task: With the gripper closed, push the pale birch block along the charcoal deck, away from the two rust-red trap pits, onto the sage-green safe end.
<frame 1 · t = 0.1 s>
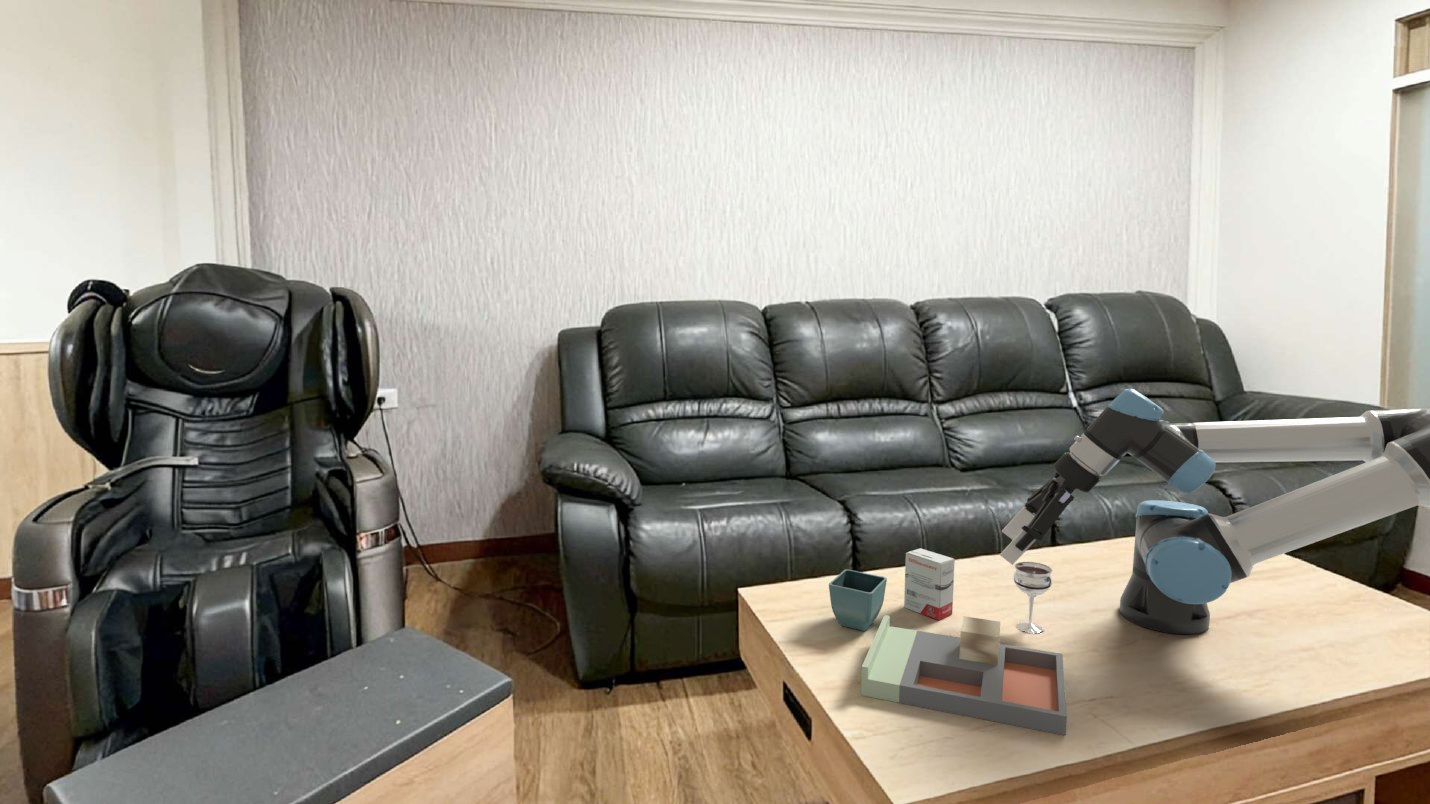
hand: (1006, 547, 144), 15 cm above the table, tool tilted 35°, fingers open, 13 cm apart
wineglass: (1029, 628, 144), on the table
birch block: (979, 653, 129), point 3 cm above the table, touching trap deck
trap deck: (963, 682, 125), on the table
flower pot: (857, 625, 147), on the table
ink box: (928, 611, 153), on the table
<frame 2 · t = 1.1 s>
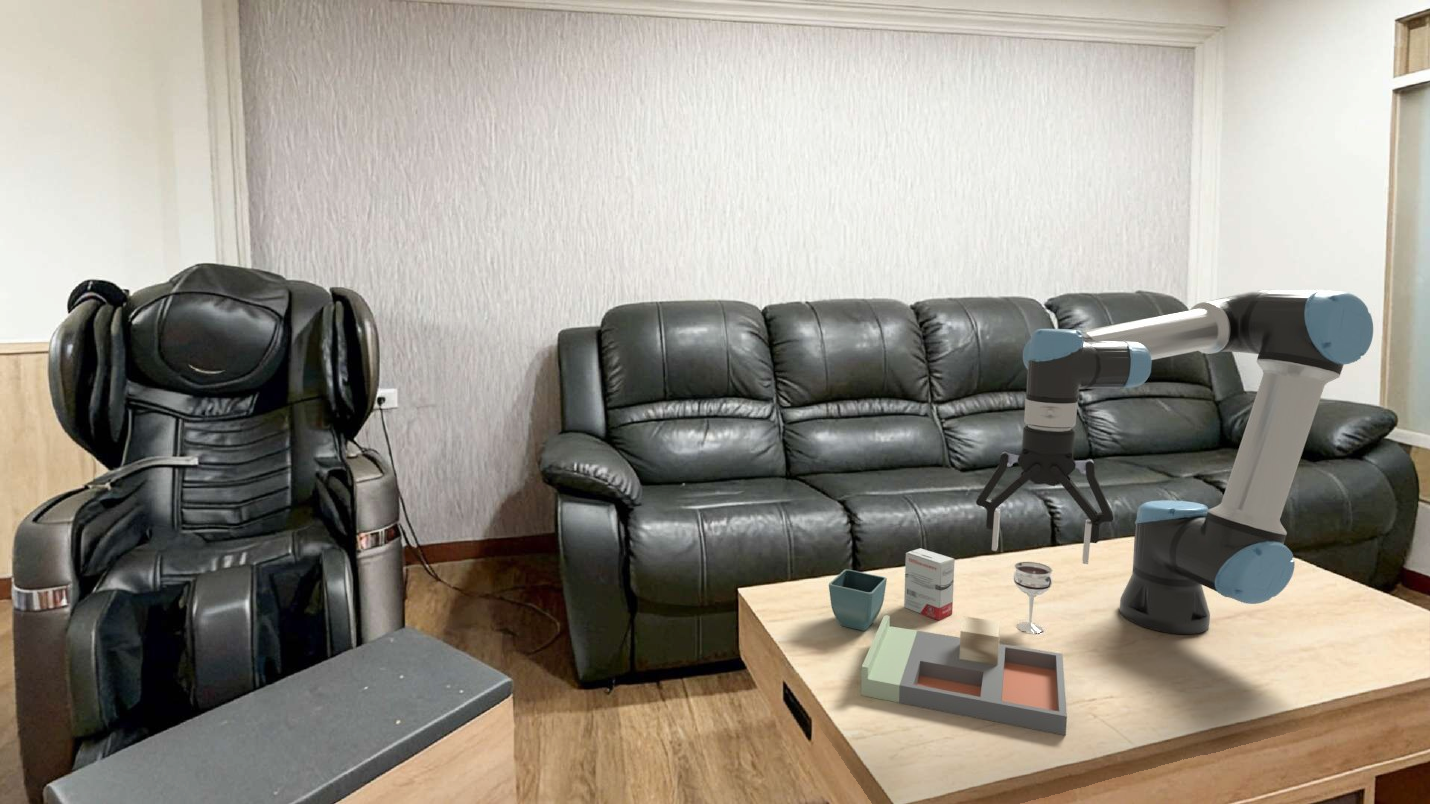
hand: (1038, 554, 123), 21 cm above the table, tool pointing down, fingers open, 13 cm apart
nothing on the table moved.
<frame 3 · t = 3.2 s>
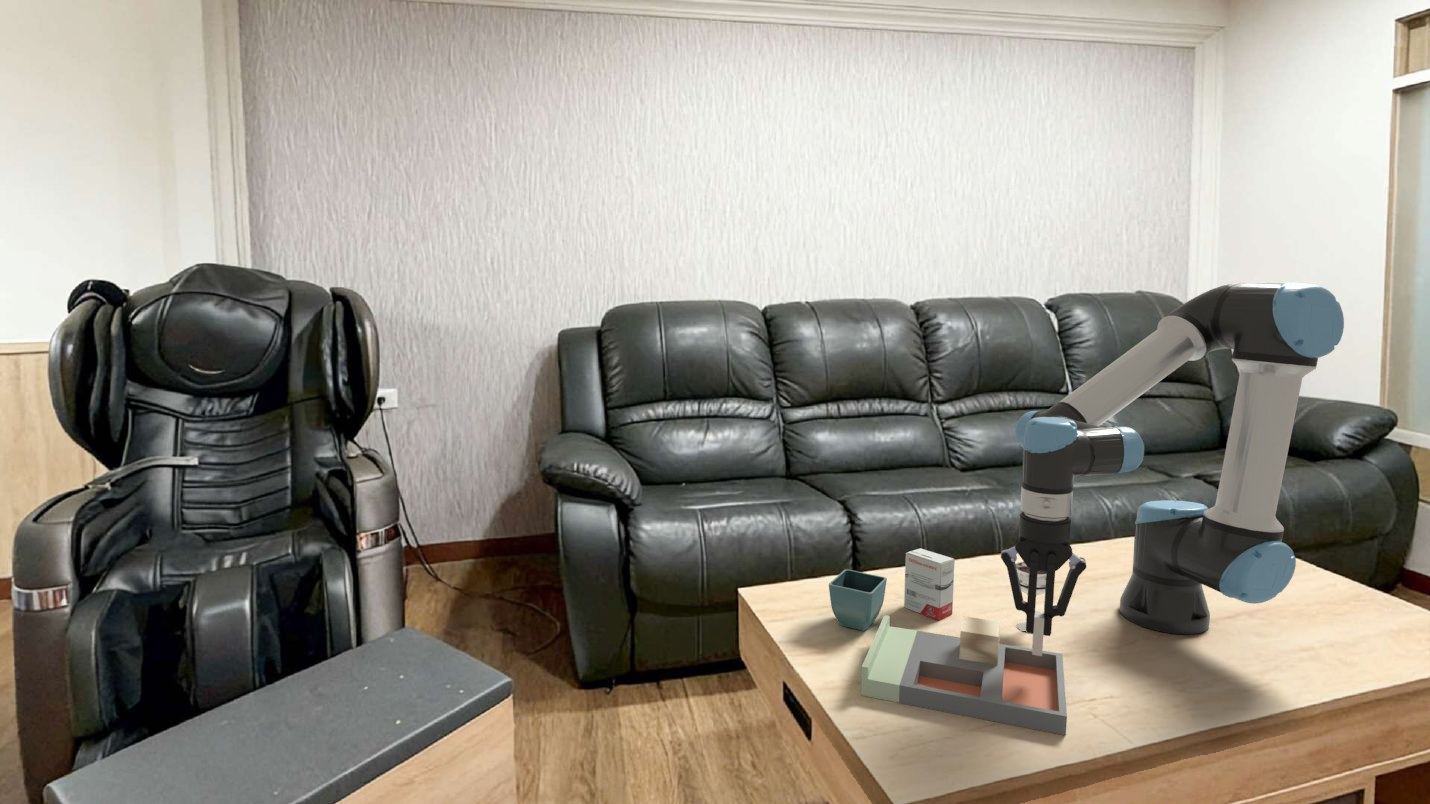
hand: (1037, 651, 125), 5 cm above the table, tool pointing down, fingers closed
nothing on the table moved.
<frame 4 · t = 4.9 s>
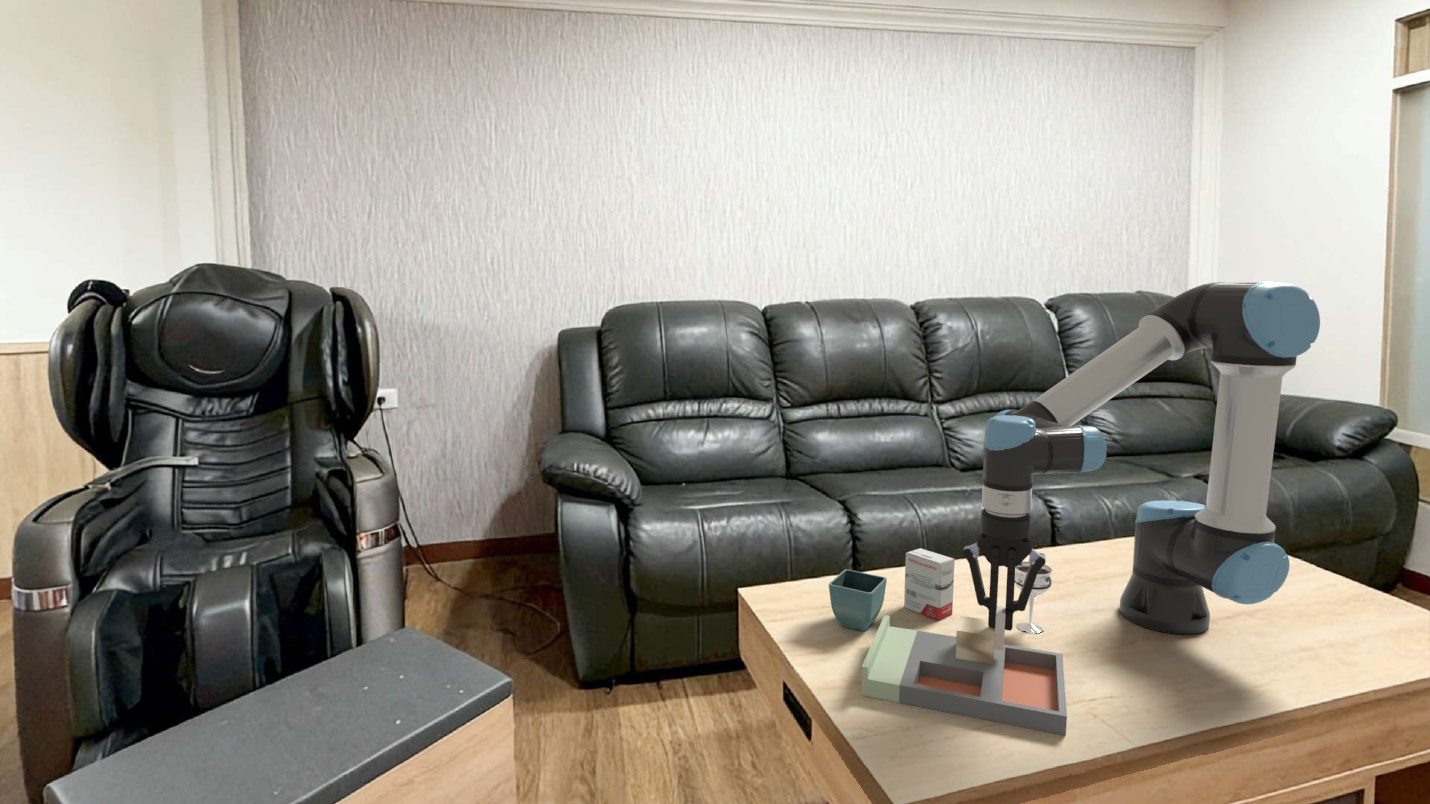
hand: (999, 646, 127), 5 cm above the table, tool pointing down, fingers closed
birch block: (975, 653, 129), point 3 cm above the table, touching gripper
everything else where it was.
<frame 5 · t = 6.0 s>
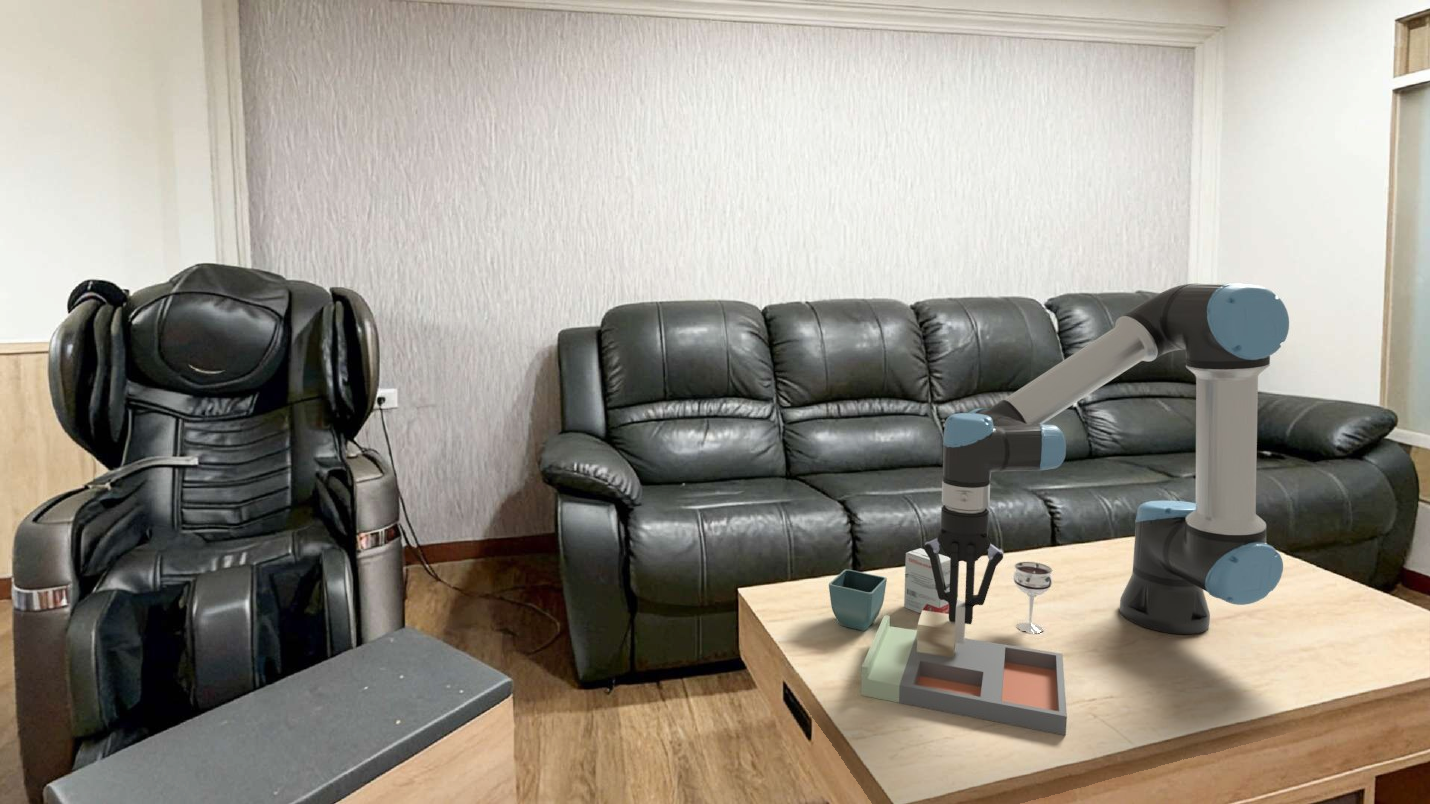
hand: (959, 639, 130), 5 cm above the table, tool pointing down, fingers closed
birch block: (936, 646, 131), point 3 cm above the table, touching gripper, trap deck
everything else where it was.
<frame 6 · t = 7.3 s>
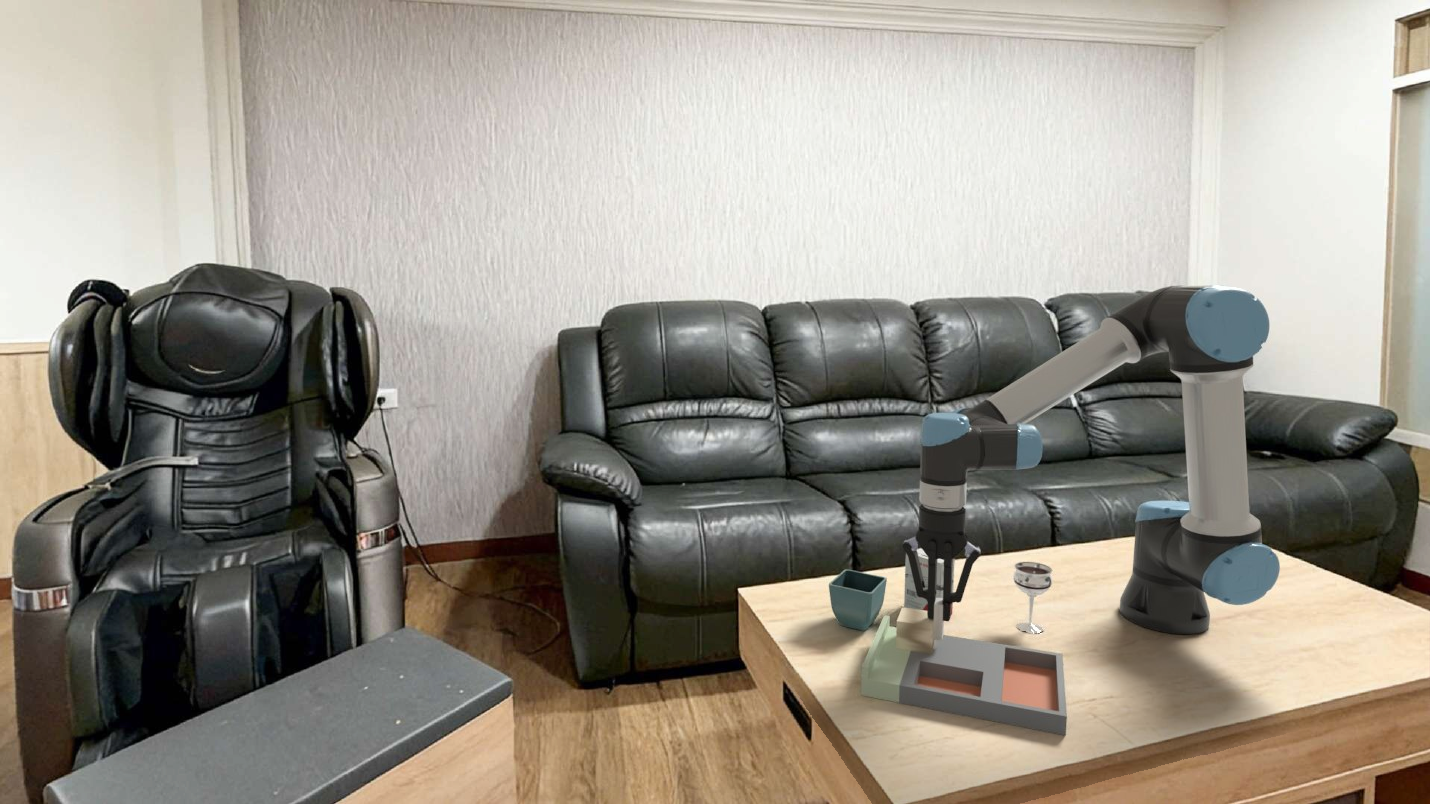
hand: (938, 636, 131), 5 cm above the table, tool pointing down, fingers closed
birch block: (916, 643, 133), point 3 cm above the table, touching gripper, trap deck
everything else where it was.
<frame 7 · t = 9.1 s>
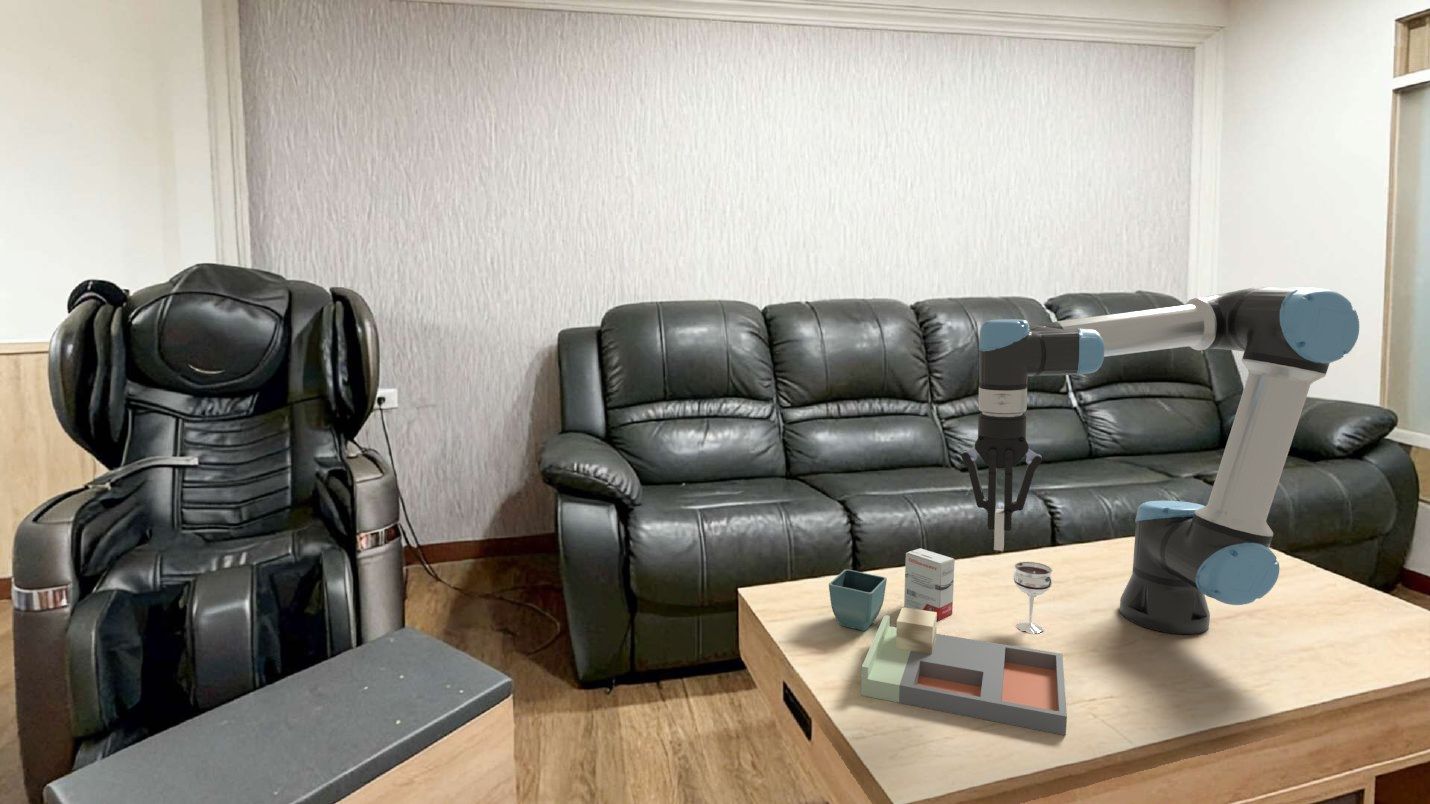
hand: (998, 547, 130), 20 cm above the table, tool pointing down, fingers closed
birch block: (916, 643, 133), point 3 cm above the table, touching trap deck
everything else where it was.
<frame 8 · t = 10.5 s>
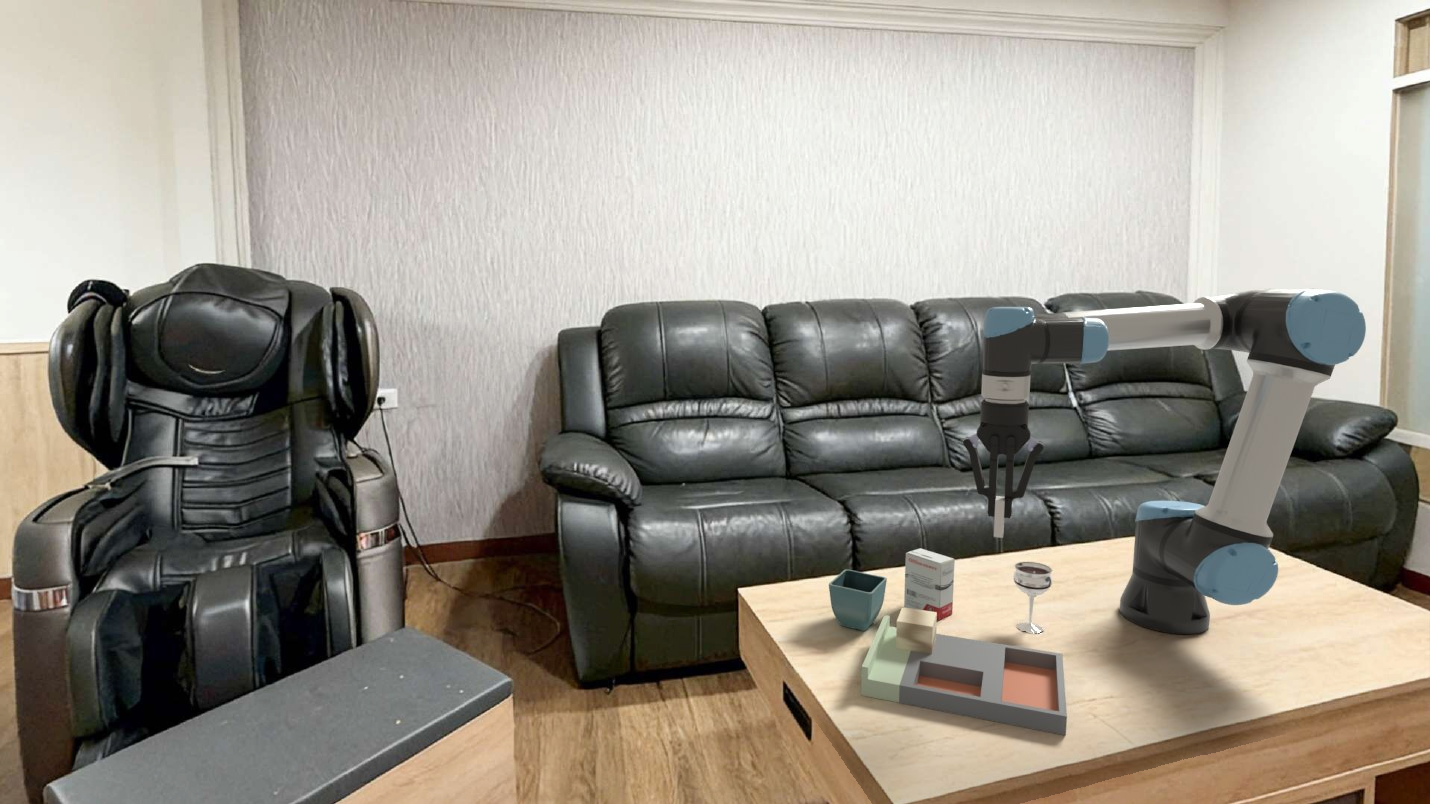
hand: (998, 534, 130), 22 cm above the table, tool pointing down, fingers closed
nothing on the table moved.
at the end: birch block inside the target area on the trap deck (2.8 cm from its centre), point 3.0 cm above the trap deck's base; birch block tilted 0° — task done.
